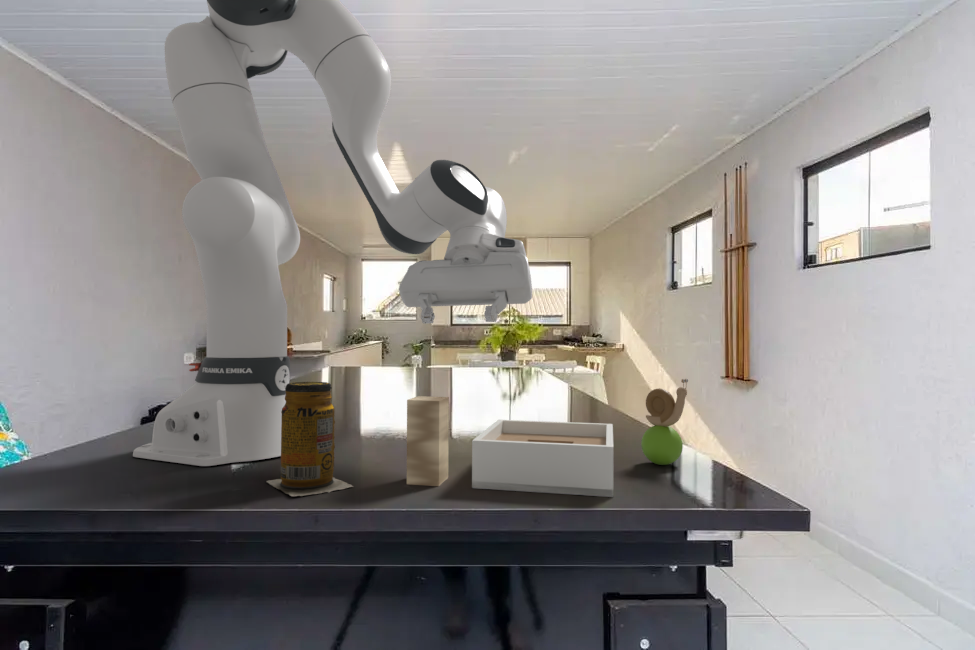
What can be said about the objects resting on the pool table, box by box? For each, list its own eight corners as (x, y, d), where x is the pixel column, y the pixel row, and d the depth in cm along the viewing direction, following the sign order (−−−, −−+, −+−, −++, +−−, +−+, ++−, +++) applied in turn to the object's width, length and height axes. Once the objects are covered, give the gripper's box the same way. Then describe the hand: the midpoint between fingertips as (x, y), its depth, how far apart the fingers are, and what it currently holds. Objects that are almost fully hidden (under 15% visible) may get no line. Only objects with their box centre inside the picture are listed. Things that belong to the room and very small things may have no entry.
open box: (472, 488, 66) (472, 440, 66) (498, 458, 82) (498, 419, 82) (613, 497, 63) (613, 446, 63) (612, 463, 78) (612, 423, 79)
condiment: (323, 473, 73) (324, 379, 73) (353, 488, 66) (354, 384, 66) (265, 483, 68) (266, 382, 68) (291, 499, 62) (292, 388, 62)
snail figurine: (675, 472, 74) (675, 379, 74) (633, 464, 79) (633, 376, 79) (696, 466, 77) (697, 377, 77) (655, 458, 82) (655, 374, 82)
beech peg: (406, 484, 68) (407, 399, 68) (417, 475, 72) (418, 396, 72) (438, 486, 67) (439, 400, 67) (448, 477, 71) (448, 397, 71)
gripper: (405, 247, 91) (383, 305, 82) (532, 240, 87) (524, 301, 78) (415, 277, 96) (395, 336, 86) (537, 272, 91) (530, 333, 82)
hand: (457, 319), depth 82 cm, fingers open, 8 cm apart
